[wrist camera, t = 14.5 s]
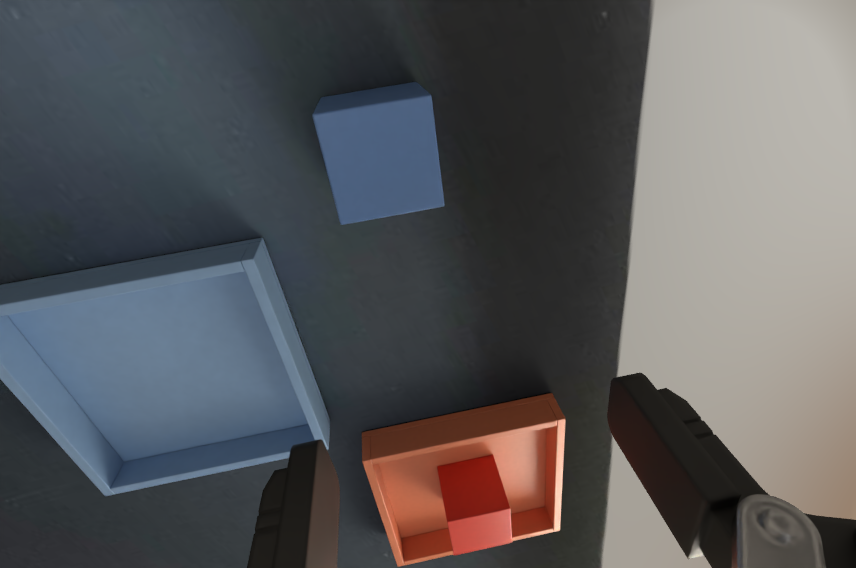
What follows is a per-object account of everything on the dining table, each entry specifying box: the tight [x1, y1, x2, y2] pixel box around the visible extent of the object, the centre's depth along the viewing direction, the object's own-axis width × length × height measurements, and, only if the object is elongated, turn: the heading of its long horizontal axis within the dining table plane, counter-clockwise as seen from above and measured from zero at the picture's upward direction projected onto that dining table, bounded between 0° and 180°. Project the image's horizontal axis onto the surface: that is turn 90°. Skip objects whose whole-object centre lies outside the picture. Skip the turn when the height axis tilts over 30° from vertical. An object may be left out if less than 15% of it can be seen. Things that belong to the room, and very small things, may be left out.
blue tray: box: [0, 238, 330, 496], centre depth 25 cm, size 14×14×2 cm
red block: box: [437, 455, 512, 555], centre depth 33 cm, size 4×4×4 cm
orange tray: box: [362, 393, 565, 567], centre depth 34 cm, size 14×14×2 cm
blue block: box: [312, 82, 444, 225], centre depth 19 cm, size 4×4×4 cm
